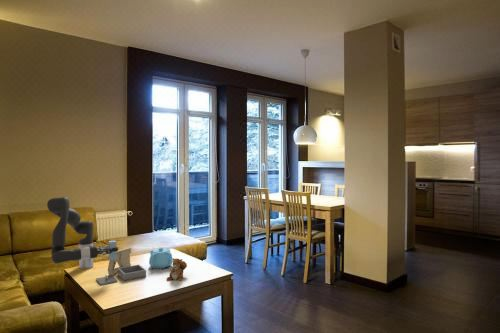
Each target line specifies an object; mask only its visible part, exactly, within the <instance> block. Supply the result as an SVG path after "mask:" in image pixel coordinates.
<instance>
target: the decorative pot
mask: <svg viewBox="0 0 500 333" xmlns="http://www.w3.org/2000/svg"><path fill="white" fill-rule="evenodd" d="M149 254H150V256H149V261H148V263H149V265H150V267H152V268H153V269H155V268H156V269H159V270H164V268H167V267H170V266H172V265H173V254H172V253H171V250H170V249H169V248H164V247H159V248H157V249H153V250H150V253H149Z"/></svg>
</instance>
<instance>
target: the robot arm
mask: <svg viewBox="0 0 500 333" xmlns="http://www.w3.org/2000/svg"><path fill="white" fill-rule="evenodd" d="M46 207H47V210H48V211H49V212H50V213H52V214H53V215H55V216H57V217H58V218H59V220H58V222H57V224H56V226H55V227H54V229H53V230H52V233H51V234H52V235H51V257H50V258H51V262H53V264H57V265H58V264H60V263H65V262H71V261H73V262H74V261H79V262H78V263H79V269H82V270H85V269H91V268H94V259H97V258H98V255H100V256H101V255H102V256H104V255H109V254H110V253H112V252H115V251H118V250H119V247H117V248H109V245H105V246H98V247H97V245H94V223H93V221H92V220H87V221H85V220H81V219H82V217H81V215H80V213H79V212H78V211H77V210H75V209H73V208H70V207H71V206H70V200H69V198H68V197H67V196H61V197H52V198H50V199H49V200H48V201H47V203H46ZM67 225H69V226H70V227H71V228H72V229H73V230H74V231H75V233H77V234H78V235H86V236H85V237H83V238H80V239H79V240H78V248H73V249H65V245H66V231H67ZM109 250H110V251H109Z"/></svg>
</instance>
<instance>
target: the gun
mask: <svg viewBox="0 0 500 333" xmlns="http://www.w3.org/2000/svg"><path fill="white" fill-rule="evenodd" d="M131 253H132V247H125V248H122V249H118V251H117V259H116V260H109V261H108V265H107V266H108V267H107V273H108V274H107V275H108V276H112V275H113V276H114V275H115V274H116V273H118V268H123V267H128V266H132V264H131V255H130V254H131ZM116 264H117V265H118V267H116Z"/></svg>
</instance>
